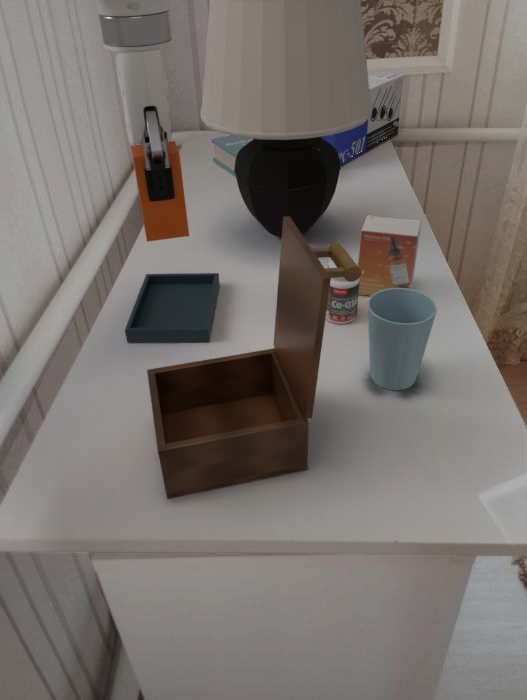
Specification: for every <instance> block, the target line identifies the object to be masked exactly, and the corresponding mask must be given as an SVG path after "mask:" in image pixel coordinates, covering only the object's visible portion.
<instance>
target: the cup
mask: <svg viewBox="0 0 527 700" xmlns="http://www.w3.org/2000/svg"><path fill="white" fill-rule="evenodd" d="M366 307H367V308H366V309H367V324H368V325H367V326H368V348H369V349H368V350H369V369H370V370H369V371H370V379H371V380H372V382H374V384H375V385H377V386H378V387H380V388H382V389H385V390H387V391H388V390H389V391H403V390H407V389H410V388H411V387H412V386H414V384H415V383H416V381H417V378H418V375H419V371H420V369H421V365H422V361H423V358H424V354H425V352H426V347H427V345H428V341H429V338H430V334H431V331H432V328H433V325H434V321H435V318H436V315H437V311H438V306H437V303H436V302H435V300H434V299H433V298H432V297H430V296H429V295H427V294H426V293H424V292H422V291H419V290H416V289H413V288H411V289H407V288H389V289H384V290H381V291H378V292H376V293H374V294H373V295H372V296H369V298H368V300H367V302H366Z"/></svg>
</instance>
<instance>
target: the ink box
mask: <svg viewBox="0 0 527 700" xmlns="http://www.w3.org/2000/svg"><path fill="white" fill-rule="evenodd" d="M404 80H405V74H403V73H394V72H387V71H380V72H378V73H375V74H372V75H368V82H369V91H370V99H371V105H372V115H371V116H370V118H369V119H368V120H367V121H366V122H365V123H364V124H362V125H360V126H358V127H356V128H353V129H351V130H348V131H344V132H341V133H337V134H333V135H328V136H321V138H322V139H324V140H325V141H327V142H328V143H330V144H331V145H332V146H333V147H334V148H335V149H336V150H337V152H338V155H339V159H340V167H342V166H343V165H344V164H347V163H348V162H350V161H352V160H353V159H356V158H358V157H359V156H361V155H363V154H365V153H366V152H368V151H370V150H372V149H374V148H376V147H377V146H379V145H381V144H383V143H385V142H386V141H388V140H390V139H392V138H394V137H396V136H397V135H399V126H400V117H401V116H400V115H401V106H402V99H403V98H402V97H403V90H404V89H403V88H404ZM386 137H387V138H386ZM384 138H385V139H384ZM382 139H383V140H382ZM377 142H378V143H377ZM361 151H362V152H361ZM359 152H360V153H359ZM357 153H358V154H357ZM352 156H353V157H352ZM343 161H344V162H343Z"/></svg>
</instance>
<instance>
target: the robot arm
mask: <svg viewBox="0 0 527 700" xmlns="http://www.w3.org/2000/svg"><path fill="white" fill-rule="evenodd" d="M95 2H96V8H97V14H98V19H99V25H100V30H101V36H102V42H103V47H104V51H108V52H113V53H114V56H115V65H116V73H117V79H118V80H117V81H118V86H119V92H120V98H121V104H122V109H123V115H124V121H125V126H126V127H125V128H126V132H127V136H128V141H129V142H128V143H129V144H130V146H134V147H136V145H142V147H143V151H144V157H145V163H146V169H144V171H145V177H146V184H147V190H148V196H149V200H150V201H151V202H154V201H162V200H169V199H174V198H175V192H174V184H173V176H172V169H171V166H170V165H169V158H168V152H167V143H169V142H170V141H172V139H173V137H172V136H173V134H172V119H171V108H170V107H171V105H170V96H169V86H168V78H167V70H166V69H167V68H166V61H165V60H166V59H165V54H164V49H166V48H169V47H171V46H173V45H174V40H173V31H172V21H171V12H170V5H169V0H95ZM166 142H167V143H166ZM148 148H151V151H150V152H149V153H148Z"/></svg>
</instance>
